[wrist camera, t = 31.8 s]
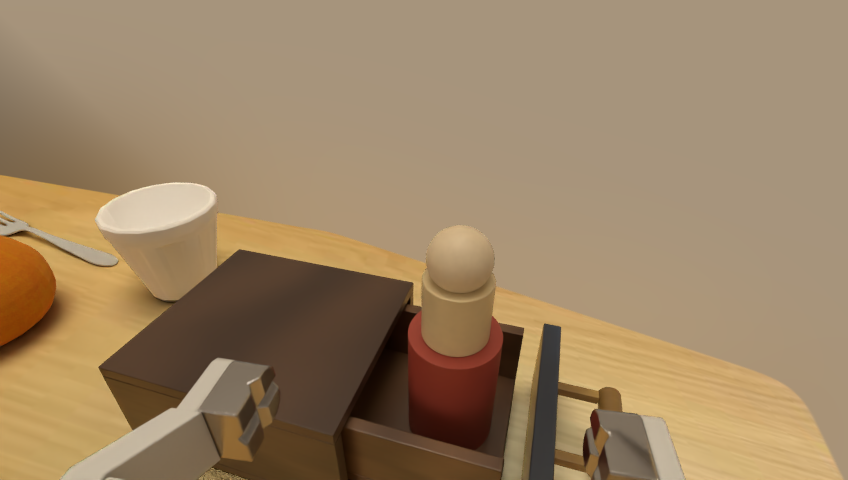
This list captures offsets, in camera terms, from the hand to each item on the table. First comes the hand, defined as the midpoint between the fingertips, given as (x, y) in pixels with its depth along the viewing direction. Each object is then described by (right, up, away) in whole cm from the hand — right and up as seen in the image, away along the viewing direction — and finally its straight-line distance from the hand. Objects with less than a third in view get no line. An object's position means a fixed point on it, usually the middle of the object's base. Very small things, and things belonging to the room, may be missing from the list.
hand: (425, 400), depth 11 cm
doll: (+2, -8, +19) cm, 21 cm away
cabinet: (-10, -8, +23) cm, 26 cm away
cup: (-25, -1, +35) cm, 42 cm away
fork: (-45, +4, +41) cm, 61 cm away
